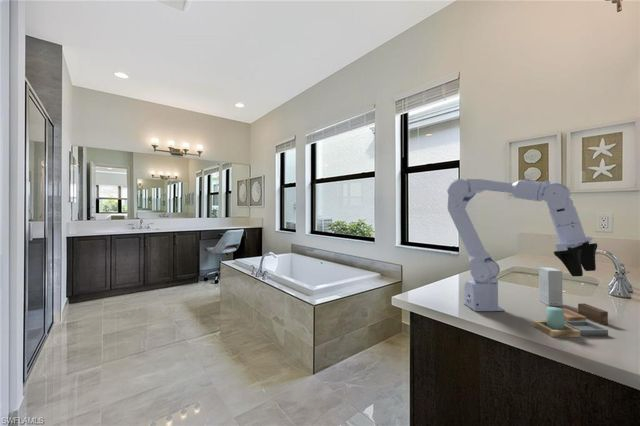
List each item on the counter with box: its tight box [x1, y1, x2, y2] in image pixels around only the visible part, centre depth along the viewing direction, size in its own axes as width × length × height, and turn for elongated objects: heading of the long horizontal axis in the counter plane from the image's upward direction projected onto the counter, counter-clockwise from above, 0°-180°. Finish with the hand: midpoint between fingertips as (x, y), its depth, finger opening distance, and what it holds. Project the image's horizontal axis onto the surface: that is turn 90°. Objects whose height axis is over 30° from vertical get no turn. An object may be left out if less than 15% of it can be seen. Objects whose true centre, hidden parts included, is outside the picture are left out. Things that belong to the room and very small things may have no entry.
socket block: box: [531, 319, 581, 338], centre depth 75 cm, size 7×7×2 cm
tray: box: [564, 320, 609, 337], centre depth 75 cm, size 7×6×2 cm
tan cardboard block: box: [559, 307, 587, 321], centre depth 82 cm, size 5×7×2 cm
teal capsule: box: [546, 306, 564, 330], centre depth 75 cm, size 4×4×6 cm
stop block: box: [577, 303, 609, 325], centre depth 82 cm, size 2×7×4 cm, turn 179°
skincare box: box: [538, 266, 564, 307], centre depth 96 cm, size 6×4×12 cm
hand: (584, 273), depth 76 cm, fingers open, 7 cm apart
